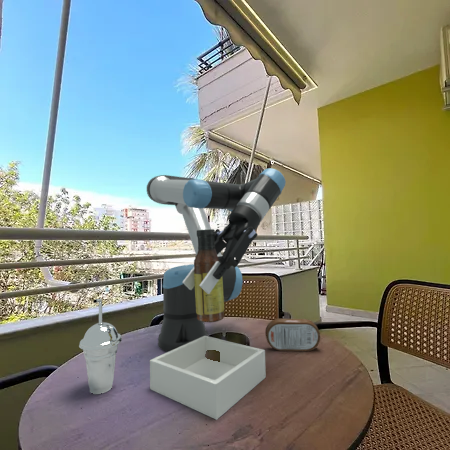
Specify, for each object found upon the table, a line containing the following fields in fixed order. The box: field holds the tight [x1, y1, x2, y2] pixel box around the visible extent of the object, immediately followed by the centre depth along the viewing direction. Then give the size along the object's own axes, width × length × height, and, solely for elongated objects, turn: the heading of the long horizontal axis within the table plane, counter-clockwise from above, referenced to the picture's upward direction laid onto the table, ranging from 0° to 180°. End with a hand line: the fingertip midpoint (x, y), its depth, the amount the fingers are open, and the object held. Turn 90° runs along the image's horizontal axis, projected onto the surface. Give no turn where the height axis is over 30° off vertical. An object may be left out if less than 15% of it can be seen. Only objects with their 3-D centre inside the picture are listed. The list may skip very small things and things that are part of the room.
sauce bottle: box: [193, 228, 225, 323], centre depth 62 cm, size 7×6×20 cm
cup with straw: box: [78, 298, 123, 395], centre depth 60 cm, size 8×9×20 cm
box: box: [149, 335, 267, 421], centre depth 61 cm, size 18×18×6 cm
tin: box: [264, 318, 321, 352], centre depth 78 cm, size 15×3×8 cm, turn 84°
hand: (195, 287), depth 60 cm, fingers closed on sauce bottle, 6 cm apart
